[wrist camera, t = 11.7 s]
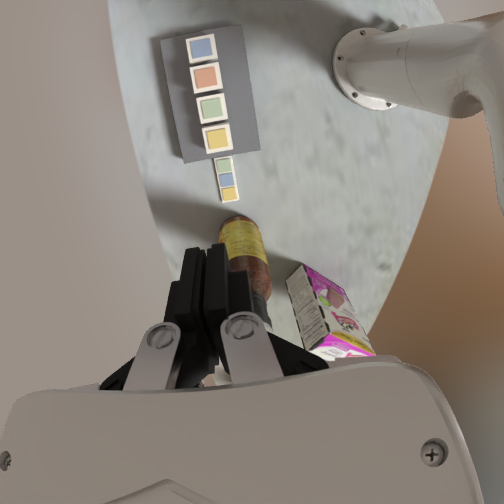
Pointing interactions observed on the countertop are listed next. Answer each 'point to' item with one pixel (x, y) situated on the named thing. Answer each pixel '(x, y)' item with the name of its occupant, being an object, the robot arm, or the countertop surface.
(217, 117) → the key sage
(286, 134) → the countertop surface
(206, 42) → the key blue
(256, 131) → the keypad board
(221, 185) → the strip
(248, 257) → the sauce bottle
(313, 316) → the candy bar box
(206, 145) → the key mustard
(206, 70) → the key terracotta
